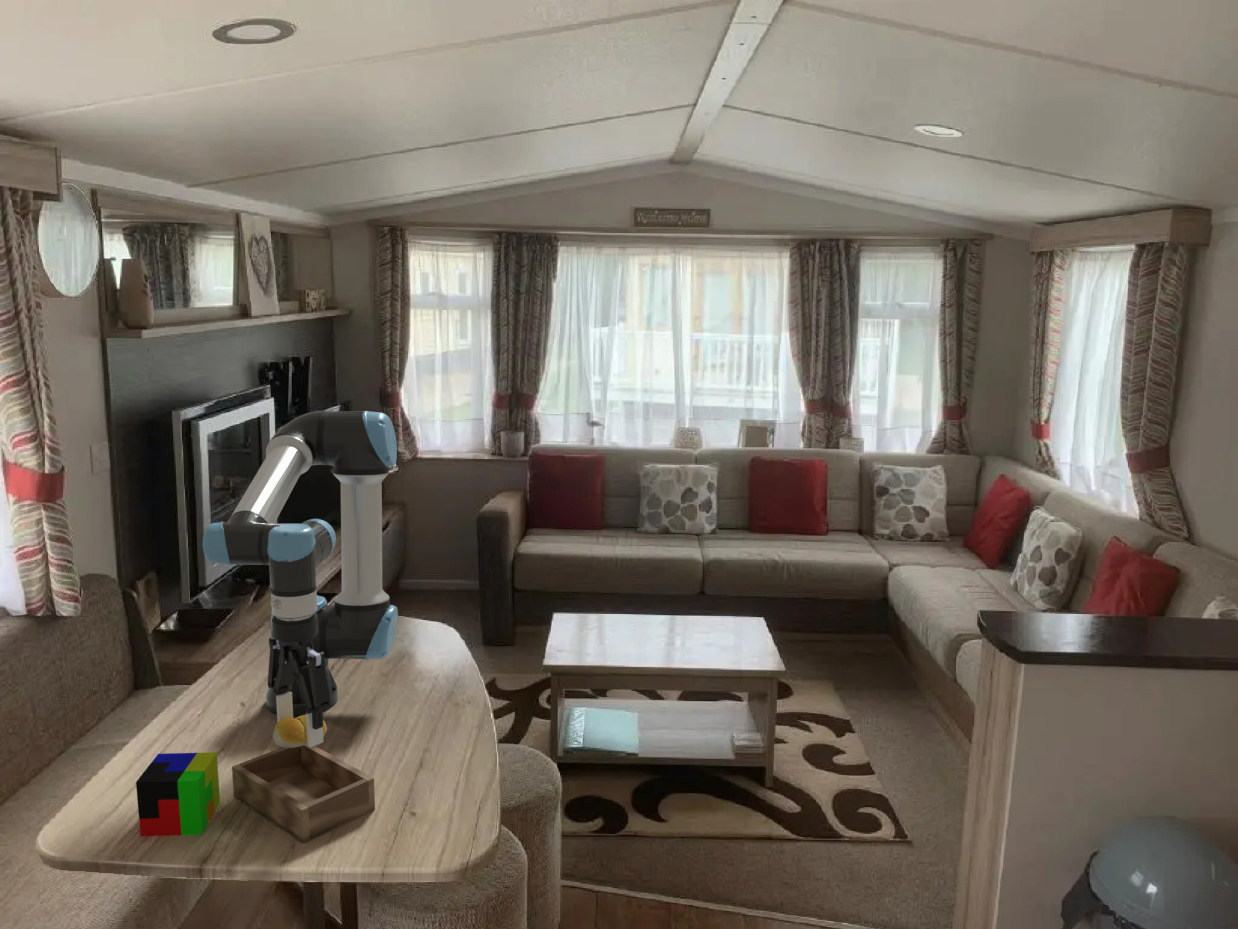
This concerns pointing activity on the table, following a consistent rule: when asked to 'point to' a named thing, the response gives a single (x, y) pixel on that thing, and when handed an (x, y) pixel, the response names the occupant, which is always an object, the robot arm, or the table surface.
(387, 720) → the table surface
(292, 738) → the bread roll
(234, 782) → the wooden box
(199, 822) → the puzzle toy
